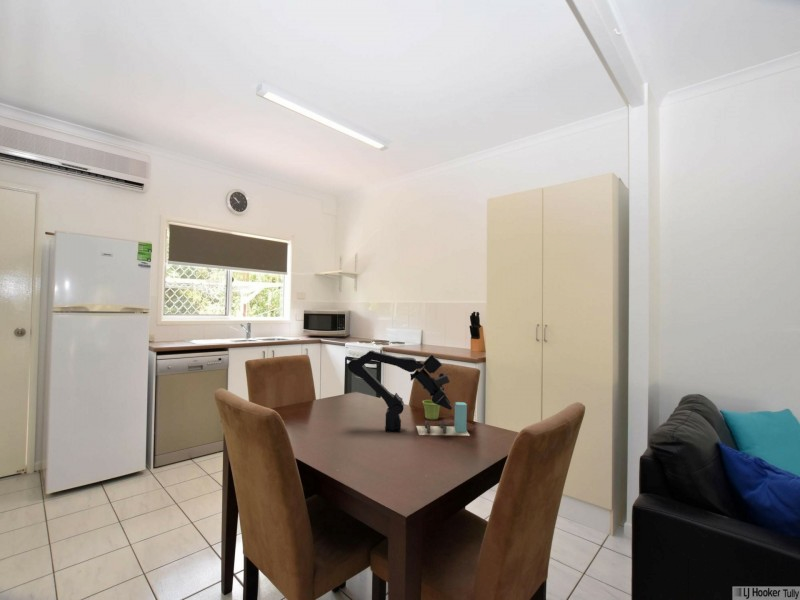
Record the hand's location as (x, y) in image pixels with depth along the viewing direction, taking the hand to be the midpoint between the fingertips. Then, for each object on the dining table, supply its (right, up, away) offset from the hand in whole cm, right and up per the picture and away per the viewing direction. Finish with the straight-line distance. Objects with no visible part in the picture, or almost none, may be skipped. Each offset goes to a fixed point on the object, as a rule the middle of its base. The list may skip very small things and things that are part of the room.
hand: (450, 406), depth 166 cm
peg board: (-4, -11, -1) cm, 12 cm away
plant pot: (-7, -12, +19) cm, 23 cm away
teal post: (+4, -11, 0) cm, 11 cm away
